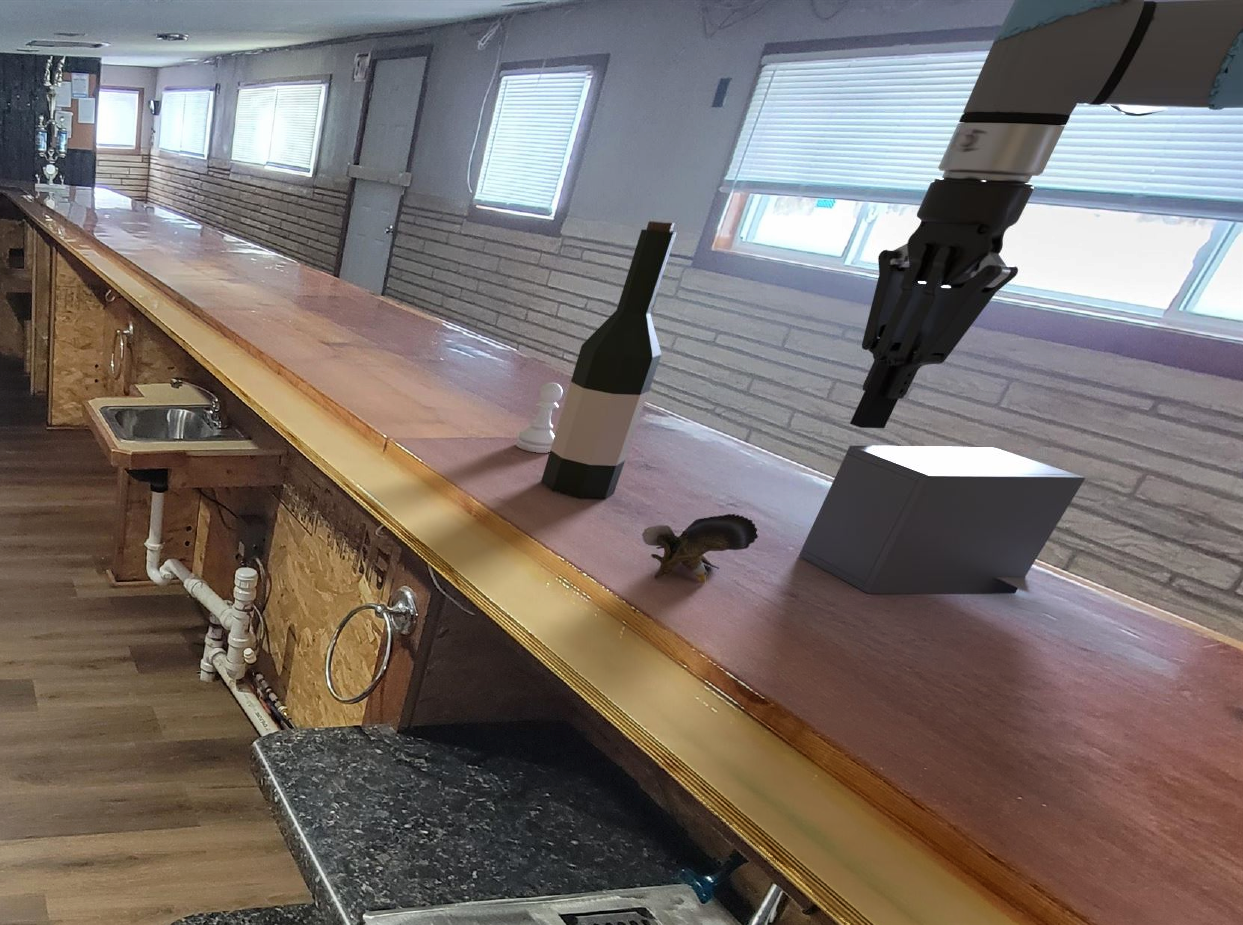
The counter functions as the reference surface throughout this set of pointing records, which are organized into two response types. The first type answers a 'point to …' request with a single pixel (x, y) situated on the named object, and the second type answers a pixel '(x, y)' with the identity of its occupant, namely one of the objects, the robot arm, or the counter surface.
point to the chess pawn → (541, 422)
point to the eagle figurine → (699, 542)
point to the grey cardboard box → (937, 518)
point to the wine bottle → (611, 381)
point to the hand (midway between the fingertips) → (866, 425)
